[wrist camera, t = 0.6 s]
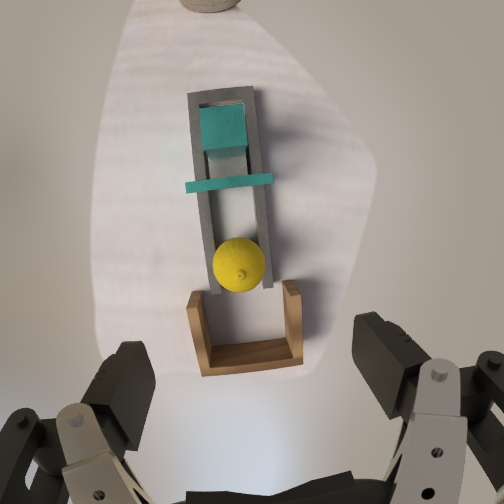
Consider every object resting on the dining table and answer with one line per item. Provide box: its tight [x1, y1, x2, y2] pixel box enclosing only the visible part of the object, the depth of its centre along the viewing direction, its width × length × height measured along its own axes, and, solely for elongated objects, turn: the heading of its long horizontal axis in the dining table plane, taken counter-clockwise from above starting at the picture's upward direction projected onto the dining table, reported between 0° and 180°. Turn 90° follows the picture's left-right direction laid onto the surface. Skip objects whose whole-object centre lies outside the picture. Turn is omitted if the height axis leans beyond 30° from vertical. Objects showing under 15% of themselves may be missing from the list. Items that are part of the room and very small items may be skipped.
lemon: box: [213, 238, 266, 292], centre depth 30 cm, size 6×6×8 cm
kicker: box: [185, 104, 274, 194], centre depth 25 cm, size 8×8×10 cm
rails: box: [187, 86, 274, 295], centre depth 31 cm, size 24×7×2 cm, turn 6°
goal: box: [186, 280, 303, 377], centre depth 33 cm, size 9×12×5 cm
